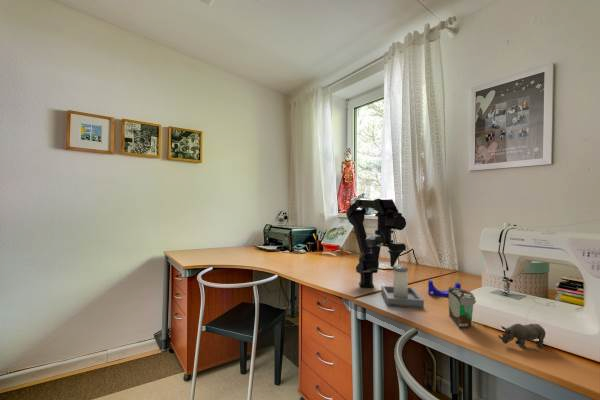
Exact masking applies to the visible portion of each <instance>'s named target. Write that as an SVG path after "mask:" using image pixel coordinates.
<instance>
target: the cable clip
mask: <svg viewBox="0 0 600 400" xmlns="http://www.w3.org/2000/svg"><path fill="white" fill-rule="evenodd" d="M427 282H428V283H427V285H428V286H427V287H428V290H427V295H428V296H434V295H436V297H442V296H446V297H445V298H449V293H448V289H447V290H440V289H438V288H436V286H435V285H434V281H433V279H428V280H427ZM454 283H455V284H454V286H453V288H459V289H462V288H461V286H462V284H461V283H460V282H454Z"/></svg>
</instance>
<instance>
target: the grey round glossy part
mask: <svg viewBox="0 0 600 400" xmlns="http://www.w3.org/2000/svg"><path fill="white" fill-rule="evenodd" d="M408 271H409V267H407V266H405V265H403V266H402V265H394V266H393V267H392V276H393V278H392V283H393V285H392V286H393V293H394V298H406V299H408V287H409V285H408V282H409V281H408V274H409V272H408Z"/></svg>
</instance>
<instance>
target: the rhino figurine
mask: <svg viewBox="0 0 600 400" xmlns="http://www.w3.org/2000/svg"><path fill="white" fill-rule="evenodd" d="M500 327H501V328H502V330H504V333H502V334H501V335H502V336H501V335H500V334H497V337H498V338H499V339H500V340H501V342H502V343H503V344H508V343H510V342H512V341H513V340H514V339H515V338H516V339H517V340H515V341H514V343H515V344H518V345H519V346H518V347H520V348H521V349H526V348H527V347H526V341H534V340H535V342H534V343H535V344H536V347H537V348H538V349H544V348H545V347H544V343H545V341H544V339H545V338H546V330H545V329H544V328H543V327H542V326H541V324H539V323H529V324H525V325H523V324H521V323H515V324H512V325H510V326H508V327H505V326H503V325H500ZM537 339H539V341H537Z"/></svg>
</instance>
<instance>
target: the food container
mask: <svg viewBox="0 0 600 400" xmlns="http://www.w3.org/2000/svg"><path fill="white" fill-rule="evenodd" d="M447 290H448V293H449V297H448V316H449V319H450V320H451V321H452V322H453V323H454V324H455V325H456V327H457V328H458V329H459V330H461V329H462V330H463V329H465V330H466V329H470V328H471V327H472V320H473V311H474V310H473V309H474V305H476V303H477V301H476V297H475V294H474V293H473V292H471V291H469V290H466V289H463V288H461V289H459V288H454V286H453V287H452V286H451V287H450V286H448V288H447Z"/></svg>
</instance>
